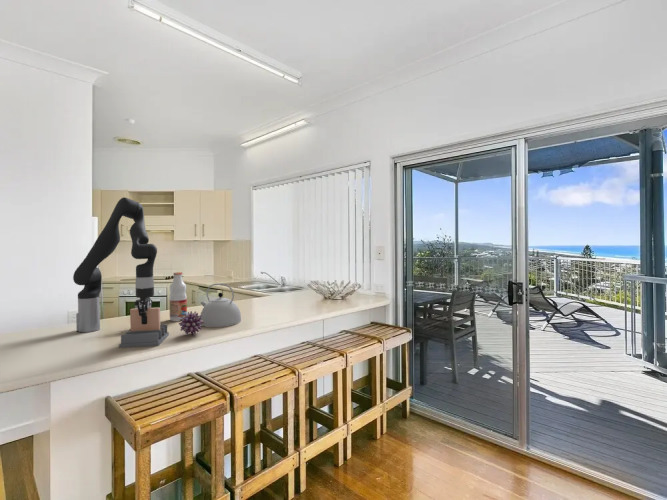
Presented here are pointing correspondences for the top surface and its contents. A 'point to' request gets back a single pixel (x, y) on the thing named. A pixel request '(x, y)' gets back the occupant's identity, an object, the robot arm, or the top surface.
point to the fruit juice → (177, 298)
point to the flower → (191, 322)
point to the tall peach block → (152, 320)
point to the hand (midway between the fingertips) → (145, 323)
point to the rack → (144, 337)
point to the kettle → (220, 311)
